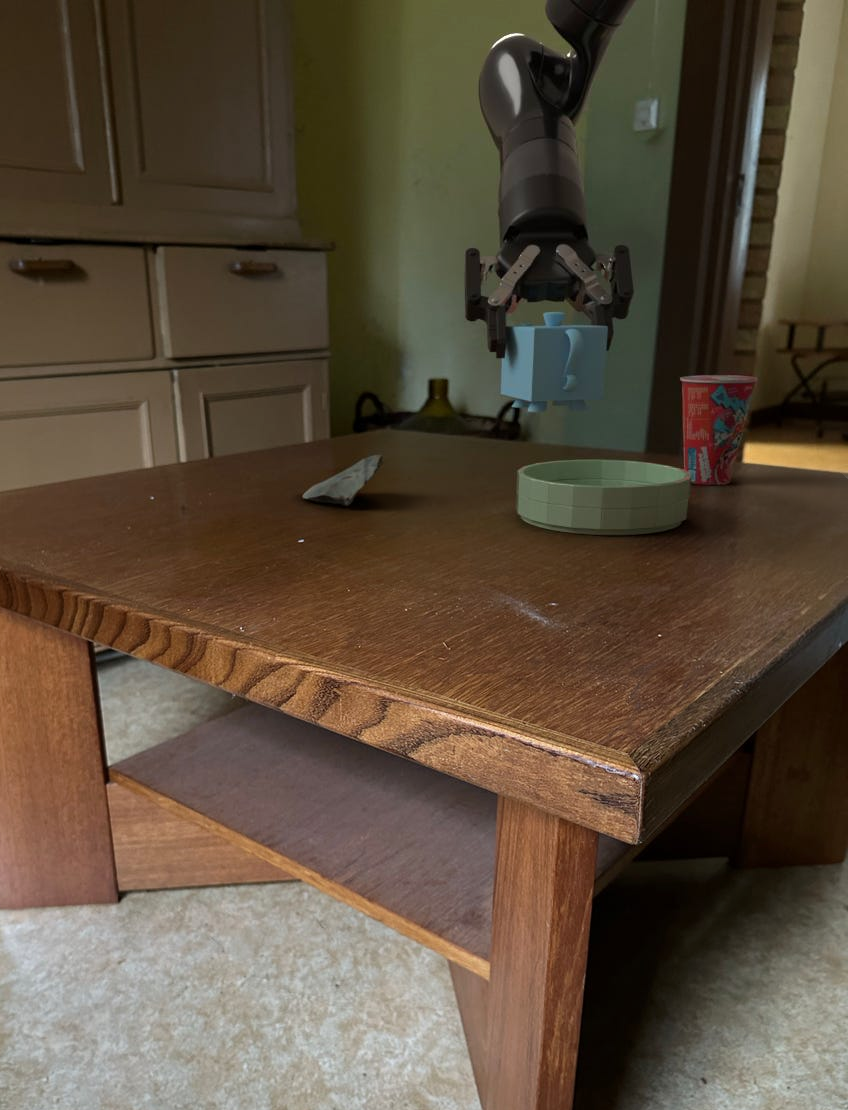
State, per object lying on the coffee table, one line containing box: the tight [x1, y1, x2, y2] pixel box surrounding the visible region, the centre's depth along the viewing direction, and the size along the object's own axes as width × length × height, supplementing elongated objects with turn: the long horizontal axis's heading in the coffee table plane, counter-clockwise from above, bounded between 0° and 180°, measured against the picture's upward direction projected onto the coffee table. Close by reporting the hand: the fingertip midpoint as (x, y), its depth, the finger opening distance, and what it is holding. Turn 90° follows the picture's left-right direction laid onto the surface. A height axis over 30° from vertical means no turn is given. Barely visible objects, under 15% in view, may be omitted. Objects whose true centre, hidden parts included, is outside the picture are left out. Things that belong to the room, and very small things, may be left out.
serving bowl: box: [515, 459, 692, 536], centre depth 90 cm, size 16×16×4 cm
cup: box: [679, 374, 759, 486], centre depth 107 cm, size 9×8×12 cm
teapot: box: [500, 311, 608, 413], centre depth 75 cm, size 12×6×8 cm, turn 12°
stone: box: [302, 454, 384, 507], centre depth 100 cm, size 11×4×10 cm
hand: (550, 350), depth 74 cm, fingers closed on teapot, 7 cm apart
